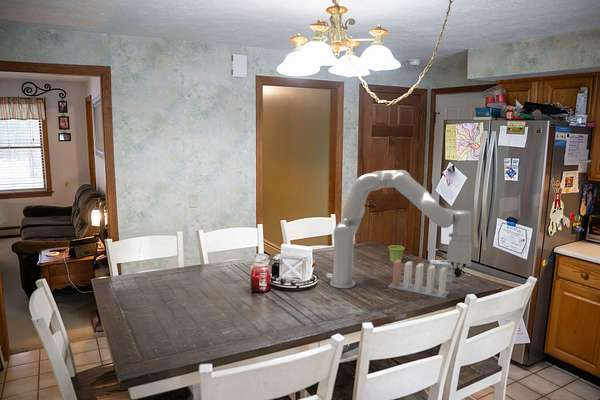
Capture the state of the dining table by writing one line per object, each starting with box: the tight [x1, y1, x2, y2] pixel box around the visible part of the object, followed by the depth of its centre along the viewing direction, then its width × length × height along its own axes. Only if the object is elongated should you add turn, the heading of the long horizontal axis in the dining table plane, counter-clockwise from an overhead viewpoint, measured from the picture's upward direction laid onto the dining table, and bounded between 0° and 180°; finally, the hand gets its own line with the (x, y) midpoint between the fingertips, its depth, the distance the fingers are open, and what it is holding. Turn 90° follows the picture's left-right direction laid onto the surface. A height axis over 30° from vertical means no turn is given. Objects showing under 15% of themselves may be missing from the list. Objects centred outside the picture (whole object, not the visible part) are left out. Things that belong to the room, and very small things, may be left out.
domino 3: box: [414, 262, 425, 291], centre depth 215 cm, size 2×6×12 cm, turn 149°
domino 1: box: [391, 259, 402, 287], centre depth 221 cm, size 2×6×12 cm, turn 150°
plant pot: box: [388, 244, 405, 263], centre depth 264 cm, size 9×9×9 cm
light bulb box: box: [429, 259, 454, 283], centre depth 230 cm, size 11×7×11 cm, turn 84°
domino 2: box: [403, 261, 413, 289], centre depth 218 cm, size 2×6×12 cm, turn 149°
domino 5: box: [438, 267, 447, 296], centre depth 210 cm, size 2×6×12 cm, turn 149°
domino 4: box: [425, 265, 435, 294], centre depth 212 cm, size 2×6×12 cm, turn 149°
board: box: [388, 281, 450, 299], centre depth 216 cm, size 27×10×1 cm, turn 59°
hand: (457, 276), depth 206 cm, fingers closed
